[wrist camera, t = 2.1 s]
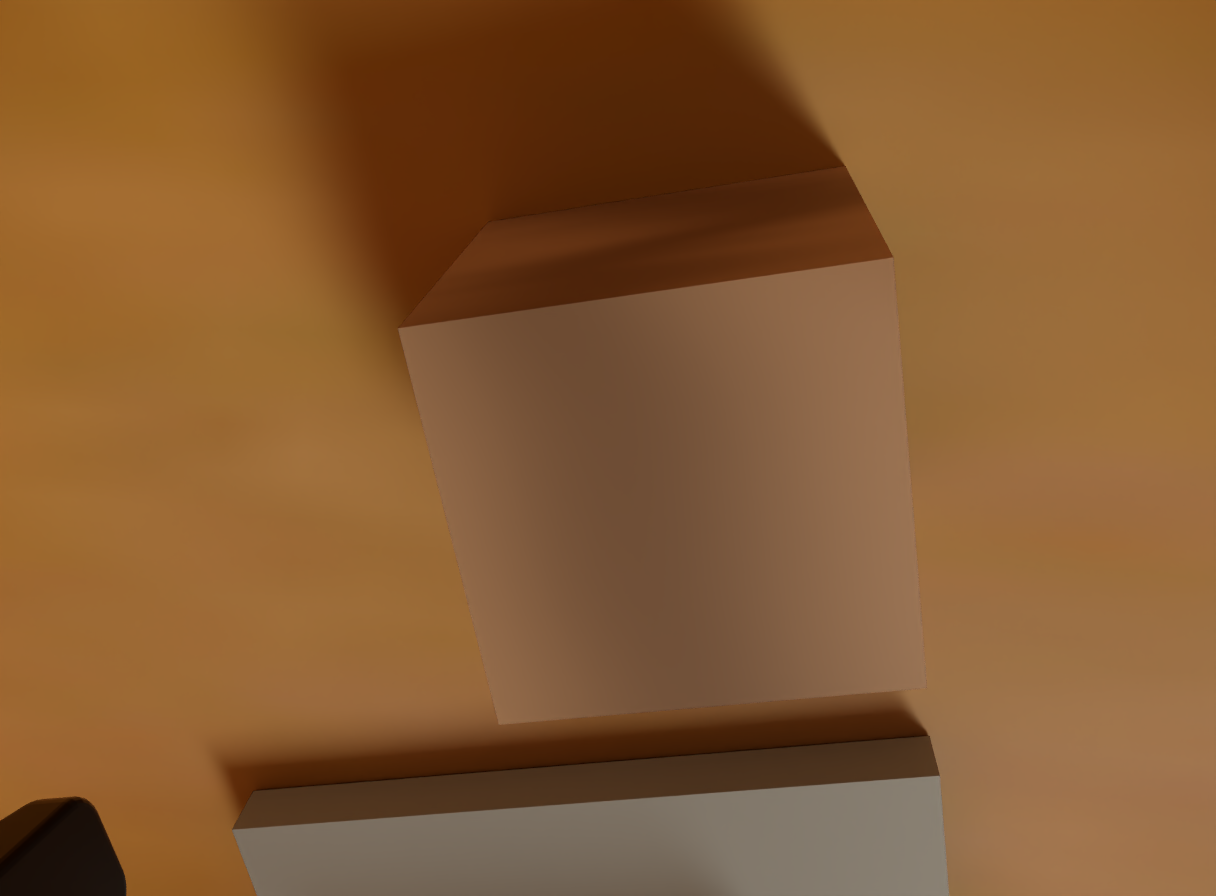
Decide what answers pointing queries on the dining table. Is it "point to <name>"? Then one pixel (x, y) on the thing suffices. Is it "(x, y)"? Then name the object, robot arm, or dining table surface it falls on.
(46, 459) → the dining table surface
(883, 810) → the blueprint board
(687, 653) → the walnut block
